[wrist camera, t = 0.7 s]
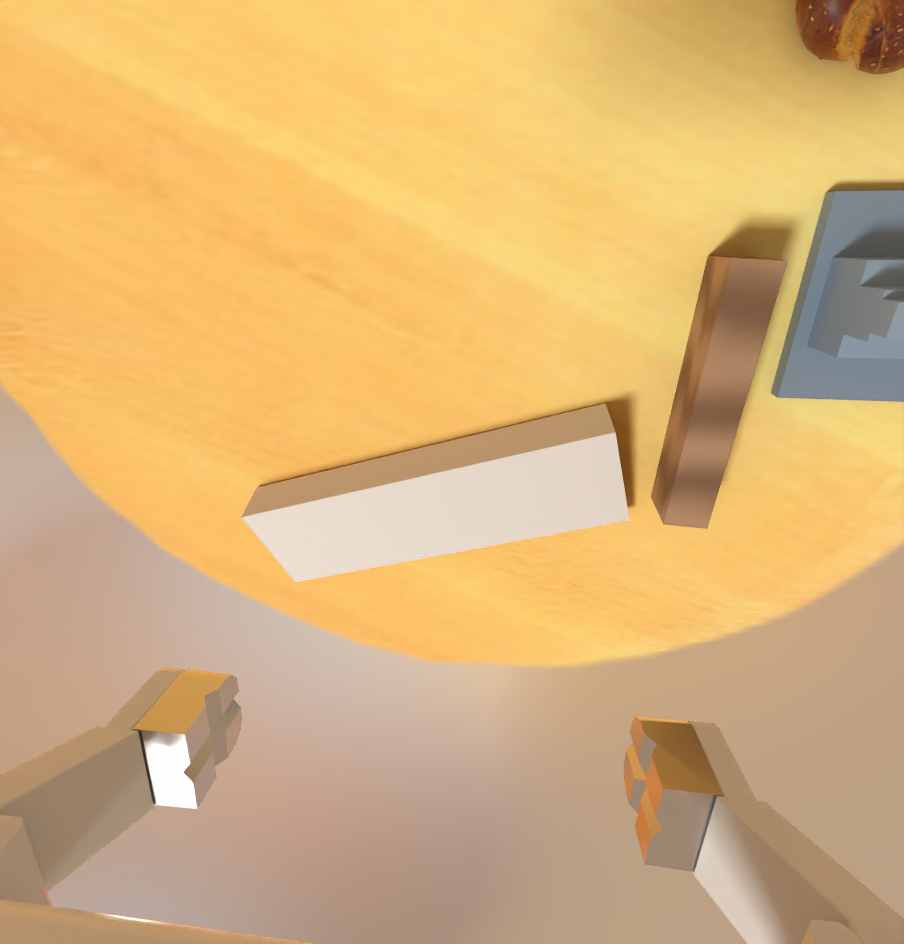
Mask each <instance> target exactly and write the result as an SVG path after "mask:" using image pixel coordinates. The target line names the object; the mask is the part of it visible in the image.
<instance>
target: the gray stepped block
mask: <svg viewBox="0 0 904 944" xmlns="http://www.w3.org/2000/svg"><path fill="white" fill-rule="evenodd" d="M771 394H773V395H775V396H776V397H778V398H808V399H838V400H868V401H899V402H904V190H887V191H834V192H826V194H825V198H824V201H823V205H822V209H821V212H820V216H819V220H818V223H817V227H816V231H815V234H814V238H813V242H812V245H811V249H810V252H809V256H808V260H807V263H806V267H805V271H804V274H803V278H802V282H801V285H800V289H799V293H798V296H797V300H796V303H795V307H794V311H793V314H792V318H791V322H790V325H789V329H788V333H787V336H786V340H785V344H784V347H783V351H782V354H781V358H780V362H779V365H778V369H777V373H776V376H775V380H774V384H773V387H772V391H771Z"/></svg>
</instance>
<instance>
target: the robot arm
mask: <svg viewBox="0 0 904 944" xmlns="http://www.w3.org/2000/svg"><path fill="white" fill-rule="evenodd" d="M238 691H239V689H238V684H237V678H236V677H234V676H232V675H227V674H219V673H212V672H203V671H196V670H189V669H188V670H184V669H176V668H169V667H164V668H162V669H160V670H158V671H157V672H155V674H154V675H153V676H152V677H151V678H150V679H149V680H148V681H147V682H146V683H145V684H144V686H142V687H141V689H140V690H139V691H138V692H137V693H136V694H135V695H134V696H133V697H132V698H131V699H130V700H129V701H128V702H127V703H126V705H125V706H124V707H123V708H122V709H121V710H120V711H119V712H118V713H117V714H116V715H115V716H114V717H113V718H112V719H111V721H110V722H109V723H108V724H107V725H106V726H105V727H99V726H97V727H95V728H93V729H91V730H89V731H87V732H85V733H83V734H81V735H79V736H77V737H75V738H73V739H71V740H69V741H67V742H65V743H63V744H61V745H59V746H57V747H55V748H53V749H52V750H50V751H48V752H45V753H44V754H42V755H39V756H38V757H36V758H34V759H32V760H30V761H28V762H26V763H24V764H22V765H20V766H18V767H16V768H14V769H12V770H10V771H8V772H6V773H4V774H2V775H0V944H314V943H307V942H300V941H293V940H286V939H279V938H272V937H265V936H257V935H250V934H244V933H237V932H230V931H223V930H216V929H208V928H201V927H194V926H187V925H180V924H173V923H166V922H159V921H152V920H145V919H138V918H130V917H124V916H116V915H109V914H102V913H96V912H88V911H81V910H74V909H67V908H60V907H53V906H52V905H51V902H50V899H49V896H48V893H47V892H48V891H49V890H50V889H52V888H53V887H54V886H55V885H57V884H58V883H59V882H60V881H62V880H63V879H64V878H66V877H67V876H68V875H69V874H71V873H72V872H73V871H74V870H75V869H77V868H78V867H79V866H81V865H82V864H83V863H84V862H86V861H87V860H88V859H89V858H91V857H92V856H93V855H94V854H96V853H97V852H98V851H100V850H101V849H102V848H103V847H105V846H106V845H107V844H108V843H110V842H111V841H112V840H114V839H115V838H116V837H117V836H119V835H120V834H121V833H122V832H123V831H125V830H126V829H127V828H129V827H130V826H131V825H132V824H134V823H135V822H136V821H138V820H139V819H140V818H141V817H143V816H144V815H145V814H146V813H148V812H149V811H150V810H151V809H153V808H154V805H161V806H172V807H184V808H195V809H198V807H199V805H200V804H201V802H202V800H203V799H204V797H205V795H206V794H207V792H208V790H209V789H210V787H211V785H212V784H213V782H214V780H215V779H216V771H215V766H216V765H217V764H219V763H221V762H222V761H223V760H225V759H226V758H228V757H229V755H230V753H231V751H232V750H233V748H234V746H235V745H236V742H237V739H238V736H239V732H240V730H241V719H242V715H241V707H240V706H239V705H238V704H237V703H236V702H235V700H234V697H235V695H236V694H237V692H238ZM630 734H631V737H632V741H633V745H631V746H630V747H629V748H628V749H626V755H625V761H624V781H625V787H626V793H627V797H628V801H629V804H630V805H631V806H632V807H633V808H634V810H635V811H636V812H637V813H638V815H637V820H636V824H635V829H636V833H637V837H638V840H639V844H640V848H641V852H642V856H643V860H644V863H645V864H646V865H654V866H660V867H666V868H673V869H679V870H685V871H692V872H694V875H695V876H696V878H697V879H698V881H699V882H700V883H701V884H702V886H703V887H704V888H705V890H706V891H707V892H708V893H709V895H710V896H711V897H712V899H713V900H714V901H715V902H716V904H717V905H718V906H719V908H720V909H721V910H722V911H723V913H724V914H725V915H726V917H727V918H728V919H729V920H730V922H731V923H732V924H733V925H734V927H735V928H736V929H737V931H738V932H739V933H740V935H741V936H742V937H743V938H744V940H745V941H746V942H747V944H904V919H903V918H902V917H901V916H900V915H899V914H898V913H897V912H895V911H894V910H893V909H892V908H891V907H889V906H888V905H887V904H886V903H885V902H884V901H882V900H881V899H880V898H879V897H878V896H876V895H875V894H874V893H873V892H872V891H871V890H869V889H868V888H867V887H866V886H865V885H863V884H862V883H861V882H860V881H859V880H858V879H856V878H855V877H854V876H853V875H852V874H850V873H849V872H848V871H847V870H846V869H845V868H843V867H842V866H841V865H840V864H838V863H837V862H836V861H835V860H834V859H833V858H831V857H830V856H829V855H828V854H827V853H826V852H824V851H823V850H822V849H821V848H820V847H819V846H817V845H816V844H815V843H814V842H812V841H811V840H810V839H809V838H808V837H806V836H805V835H804V834H803V833H802V832H801V831H799V830H798V829H797V828H796V827H795V826H794V825H792V824H791V823H790V822H789V821H788V820H787V819H785V818H784V817H783V816H782V815H781V814H779V813H778V812H777V811H776V810H775V809H773V808H772V807H771V806H770V805H769V804H768V803H766V802H762V801H757V799H756V798H755V796H754V794H753V792H752V790H751V788H750V786H749V784H748V783H747V780H746V778H745V776H744V774H743V773H742V771H741V769H740V767H739V765H738V763H737V761H736V759H735V757H734V756H733V754H732V752H731V750H730V748H729V746H728V744H727V742H726V740H725V738H724V736H723V734H722V732H721V731H720V728H719V727H717V726H716V725H715V724H713V723H701V722H690V721H688V722H685V721H677V720H666V719H656V718H645V717H635V718H634V720H633V721H632V725H631V729H630Z"/></svg>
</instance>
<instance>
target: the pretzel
mask: <svg viewBox="0 0 904 944" xmlns="http://www.w3.org/2000/svg"><path fill="white" fill-rule="evenodd" d="M796 15H797V24H798V28H799V32H800V35H801V38H802V40H803V42H804V45H805V46H806V47H807V49H808V50H809V51H811V52H812V53H813V54H814V55H816V56H818V58H819V59H827V60H840V61H848V60H851V59H855V60H856V61H857V65H856V67H857V69H858V70H860V71H864V72H867V73H871V74H883V73H889V72H893V71H896V70H899V69H901V68H903V67H904V0H797V1H796Z"/></svg>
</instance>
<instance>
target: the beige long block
mask: <svg viewBox="0 0 904 944" xmlns="http://www.w3.org/2000/svg"><path fill="white" fill-rule="evenodd" d="M241 518H242V519H243V520H244V521H245V522H246V524H247V525H248V526H249V527H250V528H251V530H252V531H253V532H254V533H255V534H256V536H257V537H258V538H259V539H260V540H261V542H262V543H263V544H264V545H265V546H266V548H267V549H268V550H269V551H270V552H271V554H272V555H273V556H274V557H275V558H276V559H277V561H278V562H279V563H280V564H281V565H282V567H283V568H284V569H285V570H286V571H287V573H288V574H289V575H290V576H291V577H292V579H293V580H294V581H295V582H298V581H304V580H309V579H315V578H320V577H325V576H331V575H336V574H342V573H347V572H352V571H358V570H363V569H369V568H374V567H379V566H385V565H390V564H396V563H401V562H406V561H412V560H417V559H423V558H428V557H433V556H439V555H444V554H450V553H455V552H460V551H466V550H471V549H477V548H482V547H487V546H493V545H498V544H504V543H509V542H514V541H520V540H525V539H531V538H536V537H541V536H547V535H552V534H558V533H563V532H568V531H574V530H579V529H584V528H590V527H595V526H601V525H606V524H611V523H617V522H622V521H628V520H629V514H628V508H627V501H626V495H625V489H624V483H623V476H622V470H621V464H620V457H619V451H618V445H617V438H616V432H615V429H614V426H613V423H612V420H611V418H610V415H609V412H608V409H607V406H606V403H604V404H600V405H595V406H591V407H587V408H583V409H579V410H574V411H570V412H566V413H562V414H558V415H553V416H549V417H545V418H541V419H537V420H533V421H529V422H524V423H520V424H516V425H512V426H508V427H504V428H500V429H496V430H492V431H488V432H484V433H480V434H475V435H471V436H467V437H463V438H459V439H455V440H451V441H446V442H442V443H438V444H434V445H430V446H425V447H421V448H417V449H413V450H409V451H405V452H401V453H397V454H393V455H389V456H385V457H380V458H376V459H372V460H368V461H364V462H360V463H356V464H352V465H348V466H343V467H339V468H335V469H331V470H327V471H322V472H318V473H314V474H310V475H306V476H302V477H298V478H294V479H290V480H285V481H281V482H277V483H273V484H269V485H265V486H261V487H258V488H257V489H256V490H255V492H254V494H253V496H252V498H251V500H250V502H249V504H248V505H247V507H246V509H245V511H244V513H243V515H242V517H241Z"/></svg>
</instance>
